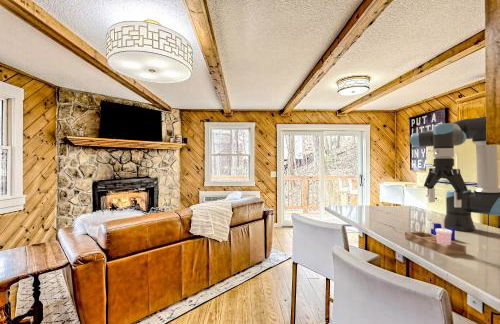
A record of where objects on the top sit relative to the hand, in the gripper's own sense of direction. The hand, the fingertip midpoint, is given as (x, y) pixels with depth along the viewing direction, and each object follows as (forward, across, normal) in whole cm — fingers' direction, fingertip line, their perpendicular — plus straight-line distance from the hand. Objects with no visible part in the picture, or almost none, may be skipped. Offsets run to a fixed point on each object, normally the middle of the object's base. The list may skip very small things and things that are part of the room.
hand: (444, 204), depth 118 cm
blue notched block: (+21, -19, +17) cm, 33 cm away
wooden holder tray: (+20, -6, -1) cm, 21 cm away
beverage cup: (+21, 0, -1) cm, 21 cm away
